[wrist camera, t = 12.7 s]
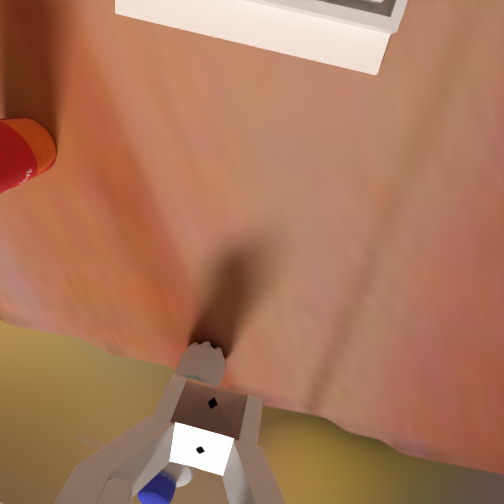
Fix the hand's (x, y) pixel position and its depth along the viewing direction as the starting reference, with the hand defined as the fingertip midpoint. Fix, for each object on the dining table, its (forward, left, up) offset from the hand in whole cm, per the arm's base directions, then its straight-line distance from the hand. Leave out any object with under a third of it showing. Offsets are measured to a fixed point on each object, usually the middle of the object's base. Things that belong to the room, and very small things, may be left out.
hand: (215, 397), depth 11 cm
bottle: (+4, +28, -29) cm, 41 cm away
